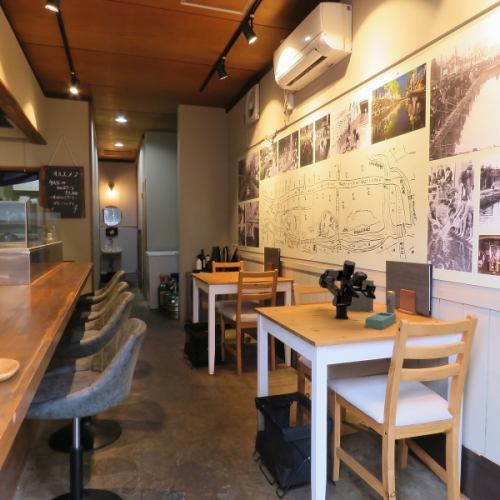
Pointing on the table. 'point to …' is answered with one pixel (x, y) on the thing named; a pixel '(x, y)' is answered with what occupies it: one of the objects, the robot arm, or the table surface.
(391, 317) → the bar
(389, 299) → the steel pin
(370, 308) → the dark grey upright panel
